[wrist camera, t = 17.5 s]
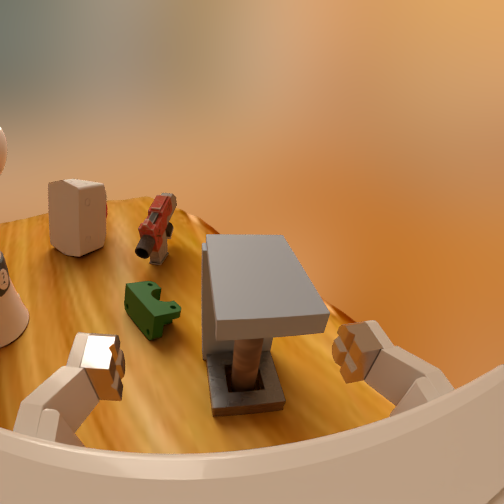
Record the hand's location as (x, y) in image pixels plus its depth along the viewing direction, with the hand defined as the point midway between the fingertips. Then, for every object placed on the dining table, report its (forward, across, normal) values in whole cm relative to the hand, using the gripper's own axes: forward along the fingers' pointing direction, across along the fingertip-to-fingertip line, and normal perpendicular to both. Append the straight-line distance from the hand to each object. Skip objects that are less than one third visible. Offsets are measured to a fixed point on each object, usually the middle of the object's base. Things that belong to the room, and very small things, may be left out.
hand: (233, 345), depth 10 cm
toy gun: (+58, -9, -30) cm, 66 cm away
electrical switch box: (+67, -32, -30) cm, 80 cm away
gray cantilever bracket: (+19, +6, -30) cm, 36 cm away
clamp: (+35, -8, -30) cm, 47 cm away
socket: (+19, +6, -30) cm, 36 cm away
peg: (+19, +6, -30) cm, 35 cm away
